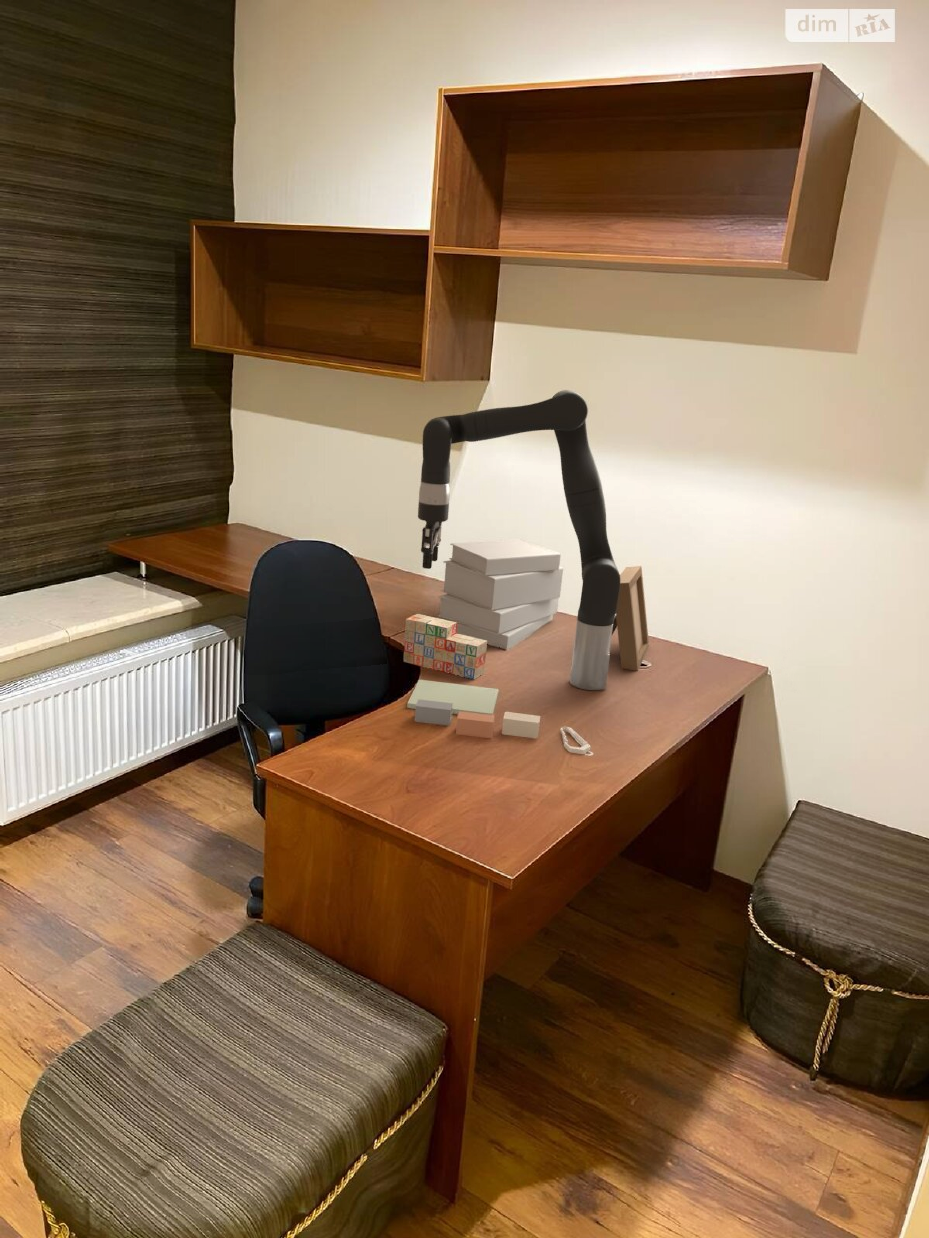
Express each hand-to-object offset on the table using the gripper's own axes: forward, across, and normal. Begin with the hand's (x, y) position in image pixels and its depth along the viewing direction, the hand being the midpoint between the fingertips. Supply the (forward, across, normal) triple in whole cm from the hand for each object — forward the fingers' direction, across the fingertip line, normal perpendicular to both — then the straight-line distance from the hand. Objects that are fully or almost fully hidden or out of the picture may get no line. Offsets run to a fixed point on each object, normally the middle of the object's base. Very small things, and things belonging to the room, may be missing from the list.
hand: (429, 564), depth 235 cm
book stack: (+29, +41, -15) cm, 52 cm away
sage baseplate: (+28, -18, -11) cm, 35 cm away
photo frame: (+29, +29, -51) cm, 65 cm away
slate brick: (+29, -31, -8) cm, 43 cm away
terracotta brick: (+29, -35, -18) cm, 49 cm away
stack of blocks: (+29, +4, -5) cm, 29 cm away
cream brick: (+29, -32, -28) cm, 51 cm away
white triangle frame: (+29, -34, -40) cm, 60 cm away
